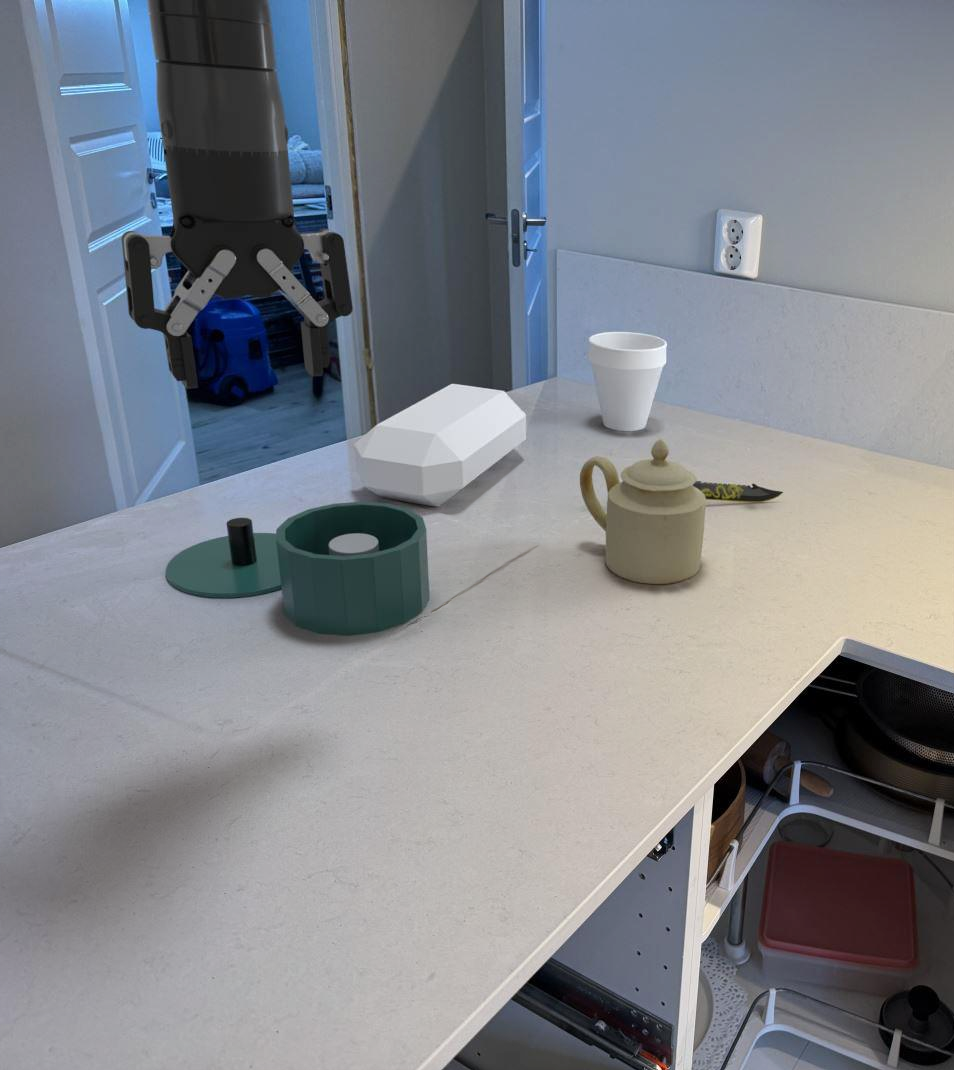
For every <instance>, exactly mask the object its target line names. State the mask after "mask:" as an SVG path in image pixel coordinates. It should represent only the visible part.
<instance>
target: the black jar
mask: <svg viewBox="0 0 954 1070" xmlns="http://www.w3.org/2000/svg"><path fill="white" fill-rule="evenodd" d="M375 552H379V543H378V540H377V538H376V537H374V536H372V535H368V534H361V533H354V534H346V535H341V536H338V537H336V538H334V539H332V540H331V541H330V542H329V555H333V556H352V555H363V554H371V553H375Z"/></svg>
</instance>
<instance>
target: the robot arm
mask: <svg viewBox="0 0 954 1070" xmlns="http://www.w3.org/2000/svg"><path fill="white" fill-rule="evenodd" d="M147 8H148V13H149V15H148V16H149V23H150V30H151V38H152V45H153V46H152V47H153V52H154V53H153V54H154V59H155V60H156V61H155V68H156V105H157V113H158V120H159V127H160V134H161V143H162V148H163V154H164V162H165V170H166V177H167V184H168V185H167V186H168V190H169V192H168V193H169V197H170V198H169V199H170V205H171V213H172V228H171V230H170V233H169V235H155V234H140V233H138V232H137V231H134V230H128V231H125V232H124V233H123V234H122V236H121V246H122V259H123V267H124V268H123V269H124V279H125V280H124V281H125V286H126V287H125V288H126V301H127V308H128V309H127V311H128V315H129V317H130V319H132V321H134V323H135V324H136V326H137V327H139V328H140V329H144V330H148V329H150V330H153V331H157V332H160V333H162V334H163V339H164V345H165V351H166V359H167V365H168V370H169V372H170V374H171V375H172V377H173V378H174V379H175V380H176V381H177V382H181V384H182V385H183V386H184V388H185V389H186V390H187V389H198V388H199V384H198V383H199V382H198V374H197V369H196V362H195V355H194V354H195V353H194V347H193V339H192V336H191V334H189V333H188V332H187V330H188V329H189V327H190V326H191V324H192V323H193V321H194V320H195V318H196V317H197V315H198V314H199V312H201V311H203V309H204V308H205V307H206V305H207V304H208V302H209V301H210V300H211V298H212V297H213V295H214V296H216V297H218V298H219V297H220V298H221V299H223V300H233V299H239V298H241V297H245V296H250V297H254V298H255V297H256V298H271V297H272V295H274V294H275V293H277V292H278V291H279V292H280V293H281V295H282V296H283V297H284V298H286V300H288V301H289V303H291V304H292V306H293V307H294V308H295V309H296V310H297V311H298V312H299V314H301V316H302V317H303V319H304V321H300V328H301V329H300V330H301V340H302V352H303V360H304V368H305V371H306V373H307V374H309V375H310V376H311V377H322V376H323V375H324V368H329V365H330V363H331V353H330V345H329V344H330V342H329V331H328V328H329V325H330V323H331V322H332V321H334V320H336V319H338V318H341V317H348V316H350V315H351V314H352V313H353V310H354V309H353V308H354V307H353V300H352V299H353V298H352V292H351V286H350V277H349V271H348V263H347V255H346V248H345V241H344V238H343V236H342V235H340V234H339V233H337V232H335V231H333V230H330V229H328V228H320V229H319V230H318V231H317V232H310V233H309V232H308V233H300V232H299V229H298V228H297V226H296V222H295V210H294V201H293V189H292V179H291V167H290V159H289V158H290V157H289V147H288V145H289V138H290V137H289V129H288V127H287V124H286V115H285V107H284V103H283V97H282V92H281V89H280V84H279V79H278V72H277V63H276V53H275V40H274V31H273V26H272V25H273V22H272V14H271V8H270V3H269V0H147ZM304 250H307V251H308V252H309V254H310V258H311V259H312V260H313V261H315V262H316V263H318V264H319V265H320V273H321V278H322V285H323V292H324V298H323V299H321V300H318V301H316V300H315V298H314V297H313V296H312V295H311V293H310V292H309V291H308V289H306V287H305V286H304V285H303V284H302V283H301V281H299V280H298V278H297V277H296V276H295V275H294V274H293V273H292V271H293V269H294V268H295V266H296V265H297V263H298V262H299V260H300V258H301V257H302V255H303V253H304ZM168 253H171V254H172V255H173V256H174V258H176V259H177V260H178V261H179V263H180V264H181V265H182V266H183V267H184V268H185V269H186V270H187V271H186V273H185V274H184V276H183V277H182V279H181V280H180V282H179V283H178V285H177V286H176V288H175V290H174V294H173V296H172V297H171V299H170V300H169V301H168V303H167V305H166V306H165V308H164V309H158V308H155V297H154V286H153V276H152V275H153V273H152V270H157V269H159V268H160V267H161V266H162V263H163V258H164V257H165V255H166V254H168Z"/></svg>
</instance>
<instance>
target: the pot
mask: <svg viewBox="0 0 954 1070" xmlns="http://www.w3.org/2000/svg"><path fill="white" fill-rule="evenodd" d="M275 531H276V532H275V534H276V544H277V553H278V562H279V570H280V579H281V588H282V589H281V596H282V605H283V613H284V617H286V618H287V619H288V620H289V621H290V622H292V623H293V625H294V626H296V627H297V628H300V629H304V630H307V631H309V632H312V633H315V634H319V635H329V636H343V637H344V636H346V637H349V636H356V635H358V636H359V635H366V634H375V633H380V632H383V631H387V630H390V629H393V628H396V627H399V626H402V625H404V624H406V623H408V622H410V621H411V620H412V619H414V618H416V617H417V616H419V615H420V614H422V613H423V612H424V610H425V608H426V607H427V605H428V603H429V602H430V600H431V599H430V581H429V580H430V579H429V559H428V558H429V557H428V535H427V527H426V523H425V520H424V518H423V516H421V515H420V514H418V513H417V512H415V511H413V510H412V509H410V508H406V507H403V506H399V505H395V504H392V503H386V502H371V501H353V502H351V501H350V502H336V503H331V504H325V505H321V506H318V507H317V506H316V507H312V508H309V509H306V510H304V511H301V512H299V513H296V514H294V515H292V516H290V517H288V518H287V519H285V520H284V521H283V523H281V524H280V525H279V526H278V527H277V528H276V530H275ZM354 533H361V534H368V535H372V536H374V537H376V538H377V540H378V543H379V552H375V553H371V554H363V555H352V556H333V555H329V542H330V541H331V540H332V539H334V538H336V537H338V536H341V535H346V534H354ZM418 620H419V618H416V620H414V621H413V622H411V623H410V624H408V625H406V626H405V628H406V627H408V626H410V625H412V624H414V623H415V622H417V621H418Z"/></svg>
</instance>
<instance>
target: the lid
mask: <svg viewBox="0 0 954 1070" xmlns="http://www.w3.org/2000/svg"><path fill="white" fill-rule="evenodd" d="M226 531H227V535H225V536H219V537H216V538H211V539H208V540H204V541H202V542H199V543H196V544H193V545H191V546H189V547H187V548H185V549H183V550H182V551H180V552H179V553H177V554H175V555H174V556H173V557H172V558H171V559H170V560H169V562H168V563H167V565H166V567H165V575H166V579H167V581H168V582H169V584H170V586H172V587H173V588H175V589H177V590H178V591H180V592H184V593H185V594H190V595H193V596H198V597H203V598H217V599H231V598H246V597H253V596H259V595H265V594H269V593H273V592H275V591H280V590H282V588H281V579H280V570H279V562H278V553H277V544H276V532H275V533H274V532H272V533H271V532H254V525H253V520H252V518H249V517H235V518H231V519H229V520H228V521H226Z"/></svg>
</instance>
